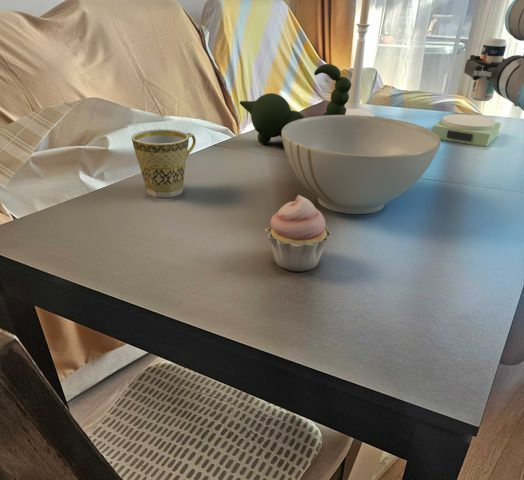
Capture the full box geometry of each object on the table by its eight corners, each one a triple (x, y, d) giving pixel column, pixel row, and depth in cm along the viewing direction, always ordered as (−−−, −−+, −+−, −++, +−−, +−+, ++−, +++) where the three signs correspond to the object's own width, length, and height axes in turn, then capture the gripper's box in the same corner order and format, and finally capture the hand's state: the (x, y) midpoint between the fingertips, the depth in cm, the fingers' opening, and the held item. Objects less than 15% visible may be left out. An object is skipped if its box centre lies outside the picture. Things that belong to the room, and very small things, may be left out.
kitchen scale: (497, 134, 135) (502, 118, 133) (486, 147, 125) (490, 130, 123) (445, 126, 141) (448, 111, 138) (430, 138, 131) (433, 121, 128)
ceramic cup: (161, 205, 90) (155, 147, 84) (127, 191, 95) (120, 135, 89) (214, 188, 98) (212, 133, 92) (180, 175, 103) (177, 123, 97)
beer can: (473, 96, 121) (488, 37, 113) (494, 99, 118) (510, 39, 111) (467, 99, 117) (482, 39, 110) (488, 102, 115) (504, 41, 108)
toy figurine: (338, 151, 125) (241, 134, 128) (355, 65, 114) (248, 47, 116) (335, 162, 118) (232, 143, 120) (353, 71, 106) (238, 53, 109)
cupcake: (267, 246, 78) (269, 181, 72) (327, 250, 77) (335, 185, 71) (260, 275, 70) (262, 205, 64) (327, 280, 70) (335, 210, 64)
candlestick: (322, 117, 146) (333, -10, 128) (342, 109, 155) (355, -11, 137) (362, 124, 141) (379, -8, 123) (381, 116, 149) (400, -8, 131)
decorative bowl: (256, 215, 87) (257, 142, 80) (304, 170, 107) (308, 109, 100) (413, 243, 80) (430, 165, 72) (433, 189, 100) (448, 124, 92)
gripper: (467, 98, 102) (440, 78, 120) (556, 101, 101) (516, 81, 120) (477, 56, 97) (448, 42, 116) (571, 58, 97) (526, 44, 115)
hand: (482, 62), depth 118 cm, fingers closed on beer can, 5 cm apart
